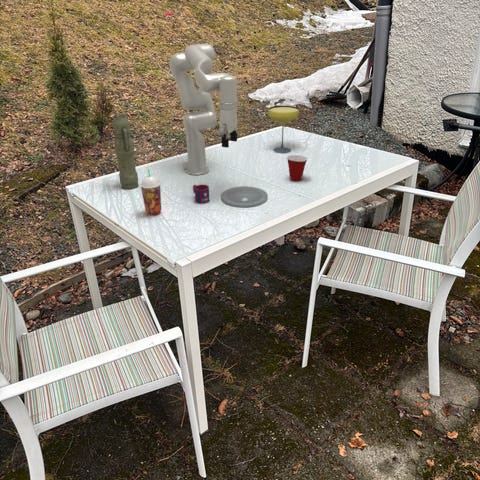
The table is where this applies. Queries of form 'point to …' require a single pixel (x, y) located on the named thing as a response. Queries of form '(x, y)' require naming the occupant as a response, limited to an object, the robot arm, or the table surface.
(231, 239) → the table surface
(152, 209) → the smoothie
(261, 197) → the dish
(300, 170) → the plastic cup
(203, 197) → the cup
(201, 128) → the robot arm
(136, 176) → the green moai statue
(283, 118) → the cocktail glass
